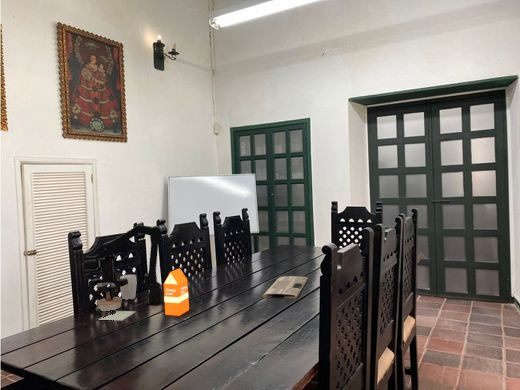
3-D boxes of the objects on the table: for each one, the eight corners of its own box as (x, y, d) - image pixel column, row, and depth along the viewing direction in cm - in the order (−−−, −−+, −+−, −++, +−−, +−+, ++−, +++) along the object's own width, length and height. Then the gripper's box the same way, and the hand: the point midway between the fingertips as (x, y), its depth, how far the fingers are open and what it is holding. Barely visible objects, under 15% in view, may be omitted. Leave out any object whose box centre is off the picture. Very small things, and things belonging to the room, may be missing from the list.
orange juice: (165, 314, 182) (162, 272, 181) (175, 308, 190) (173, 267, 190) (179, 315, 179) (177, 272, 179) (189, 309, 188) (187, 268, 187)
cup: (132, 301, 207) (130, 278, 207) (116, 300, 209) (115, 278, 209) (140, 296, 216) (139, 274, 216) (125, 295, 218) (124, 274, 217)
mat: (135, 312, 188) (135, 311, 188) (122, 321, 176) (122, 320, 176) (112, 311, 190) (112, 311, 190) (98, 320, 178) (98, 319, 178)
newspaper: (296, 299, 197) (296, 294, 197) (259, 298, 202) (259, 293, 202) (307, 281, 232) (307, 276, 232) (276, 280, 237) (275, 275, 237)
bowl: (124, 305, 199) (123, 298, 199) (113, 312, 190) (112, 305, 189) (106, 305, 201) (106, 298, 201) (94, 311, 192) (94, 304, 191)
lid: (126, 298, 200) (125, 289, 200) (113, 305, 189) (112, 295, 188) (105, 298, 202) (105, 289, 202) (91, 305, 191) (91, 295, 191)
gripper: (132, 265, 201) (134, 295, 201) (100, 265, 205) (101, 294, 205) (121, 269, 190) (123, 301, 190) (86, 270, 194) (88, 301, 194)
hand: (109, 299), depth 195 cm, fingers closed on lid, 3 cm apart
